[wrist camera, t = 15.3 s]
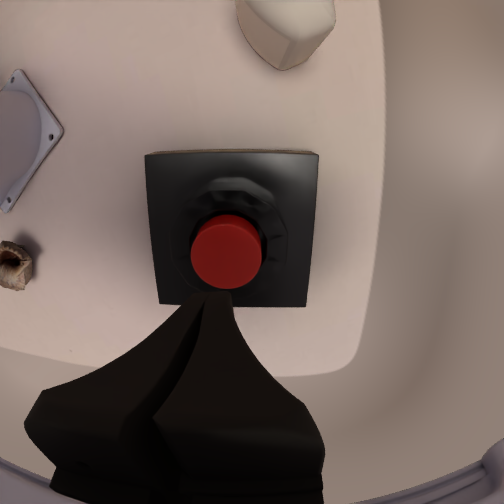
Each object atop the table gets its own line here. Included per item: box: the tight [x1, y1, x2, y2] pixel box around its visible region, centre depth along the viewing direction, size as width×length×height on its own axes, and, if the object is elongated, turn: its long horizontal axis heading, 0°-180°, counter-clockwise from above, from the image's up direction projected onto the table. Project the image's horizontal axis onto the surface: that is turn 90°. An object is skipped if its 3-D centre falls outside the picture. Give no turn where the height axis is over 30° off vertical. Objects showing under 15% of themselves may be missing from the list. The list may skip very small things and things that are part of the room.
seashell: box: [0, 241, 32, 291], centre depth 20 cm, size 4×8×4 cm
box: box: [145, 149, 319, 307], centre depth 19 cm, size 10×10×4 cm
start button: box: [191, 214, 262, 289], centre depth 16 cm, size 4×4×2 cm
